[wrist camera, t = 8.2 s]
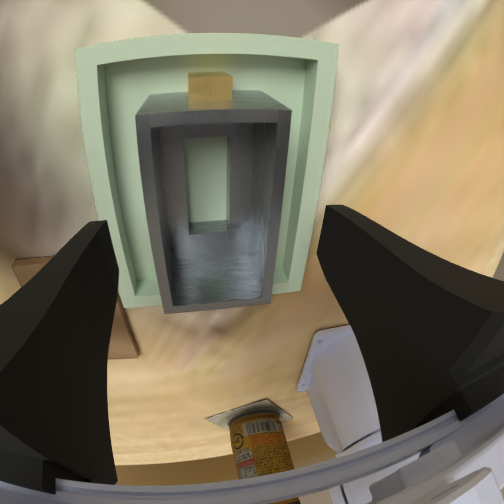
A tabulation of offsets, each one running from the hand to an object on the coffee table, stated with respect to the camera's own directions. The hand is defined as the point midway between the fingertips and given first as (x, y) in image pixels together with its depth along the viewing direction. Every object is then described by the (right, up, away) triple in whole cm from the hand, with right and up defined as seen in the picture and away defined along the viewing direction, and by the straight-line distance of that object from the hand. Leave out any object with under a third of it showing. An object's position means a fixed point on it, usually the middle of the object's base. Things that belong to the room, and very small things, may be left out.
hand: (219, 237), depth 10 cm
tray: (-1, +3, +4) cm, 5 cm away
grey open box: (-1, +3, +3) cm, 4 cm away
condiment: (+1, -19, +22) cm, 29 cm away
